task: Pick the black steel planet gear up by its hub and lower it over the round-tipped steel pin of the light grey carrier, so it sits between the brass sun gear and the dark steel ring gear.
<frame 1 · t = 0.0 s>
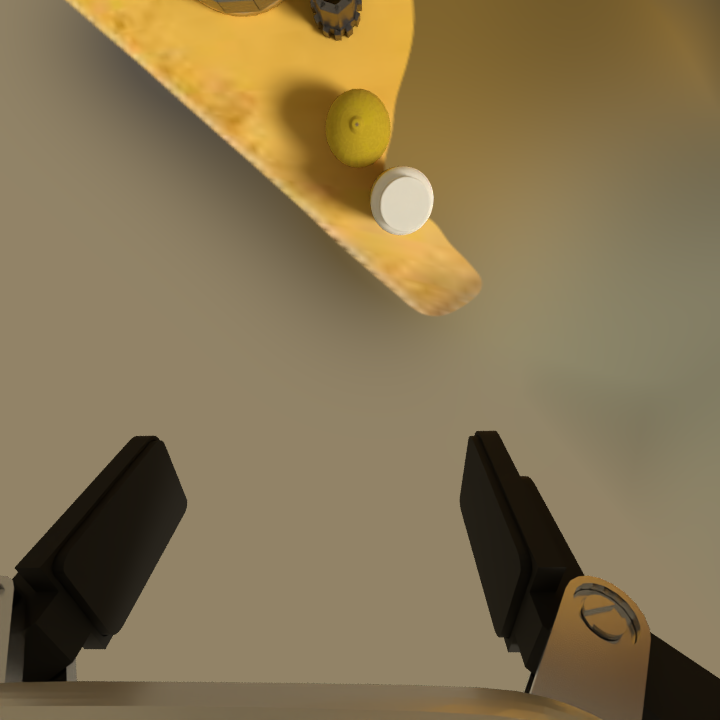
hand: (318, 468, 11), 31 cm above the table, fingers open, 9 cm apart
planet gear: (337, 8, 28), on the table
lemon: (359, 135, 33), on the table
supplement bottle: (395, 197, 35), on the table
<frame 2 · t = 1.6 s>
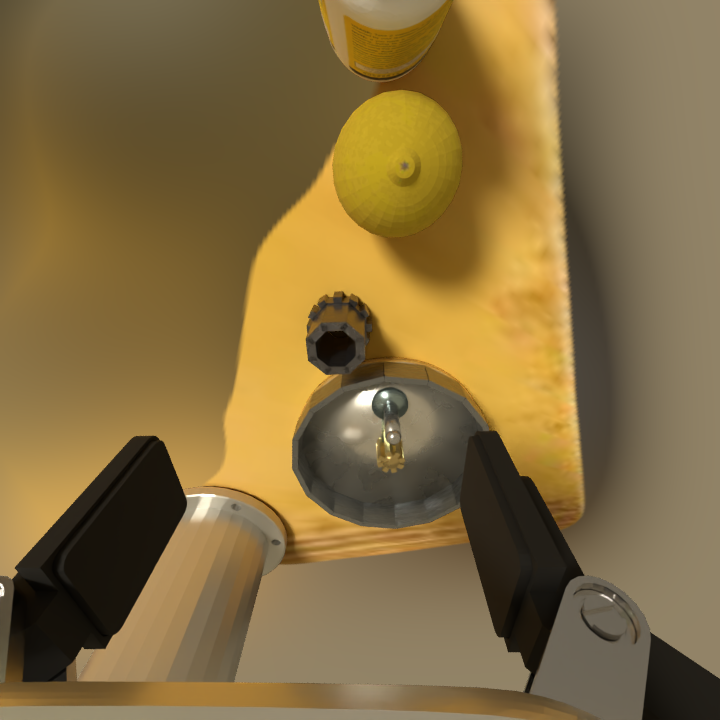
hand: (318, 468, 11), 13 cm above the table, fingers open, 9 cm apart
planet gear: (340, 321, 23), on the table
lemon: (389, 173, 19), on the table
supplement bottle: (381, 11, 16), on the table
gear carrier: (388, 436, 27), on the table
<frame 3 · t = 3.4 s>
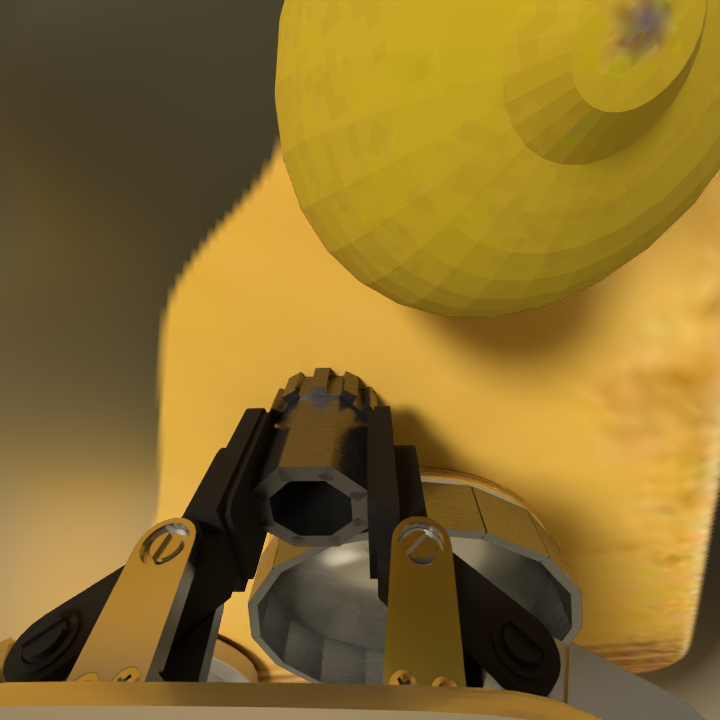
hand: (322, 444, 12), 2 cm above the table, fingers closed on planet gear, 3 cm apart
planet gear: (327, 415, 13), on the table, touching gripper
lemon: (422, 148, 9), on the table
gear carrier: (405, 568, 17), on the table
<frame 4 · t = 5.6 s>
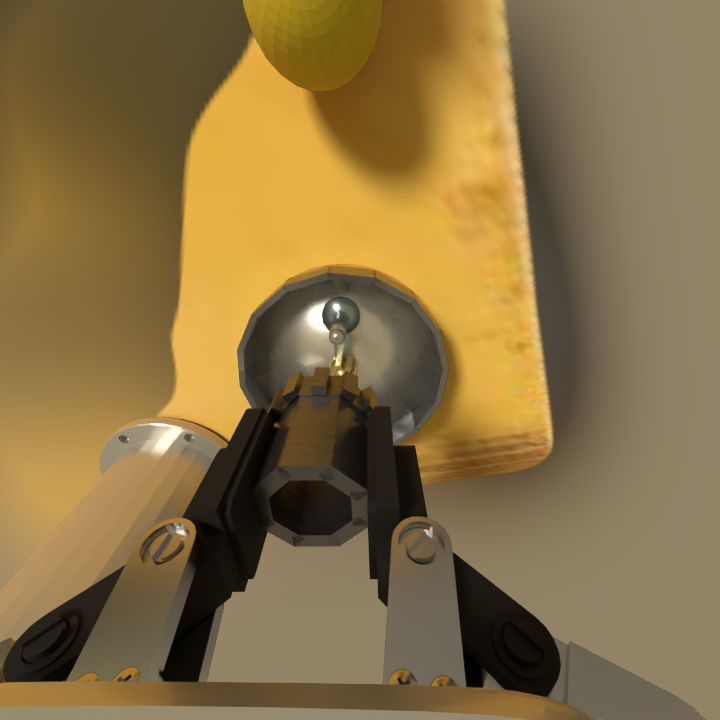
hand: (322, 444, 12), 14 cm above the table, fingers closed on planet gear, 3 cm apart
planet gear: (327, 414, 13), point 12 cm above the table, touching gripper
lemon: (325, 41, 18), on the table
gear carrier: (344, 359, 26), on the table
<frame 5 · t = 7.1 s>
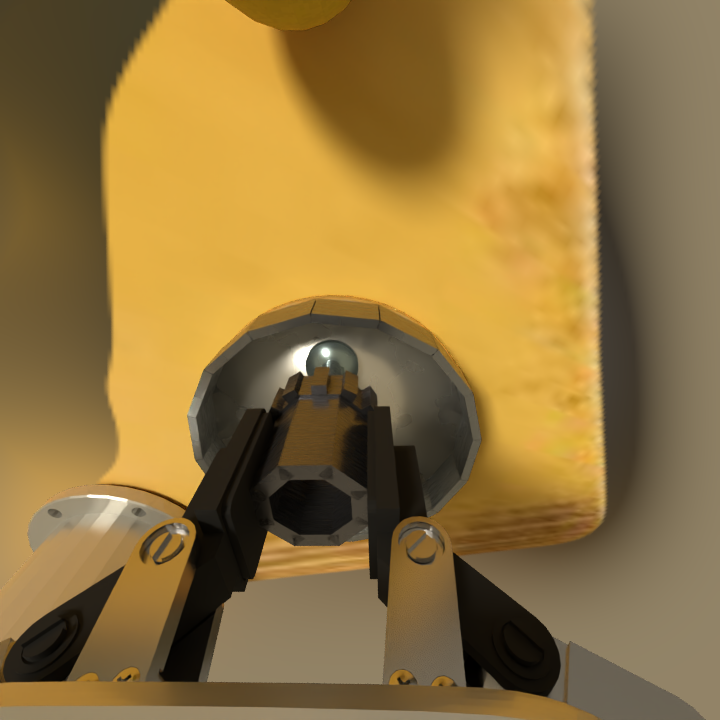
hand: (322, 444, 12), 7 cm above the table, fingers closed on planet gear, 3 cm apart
planet gear: (327, 414, 13), point 5 cm above the table, touching gripper
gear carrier: (338, 415, 20), on the table
when the fingers open (4 cm above the table, at t = 8.1 s): planet gear stays where it is, resting on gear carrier.
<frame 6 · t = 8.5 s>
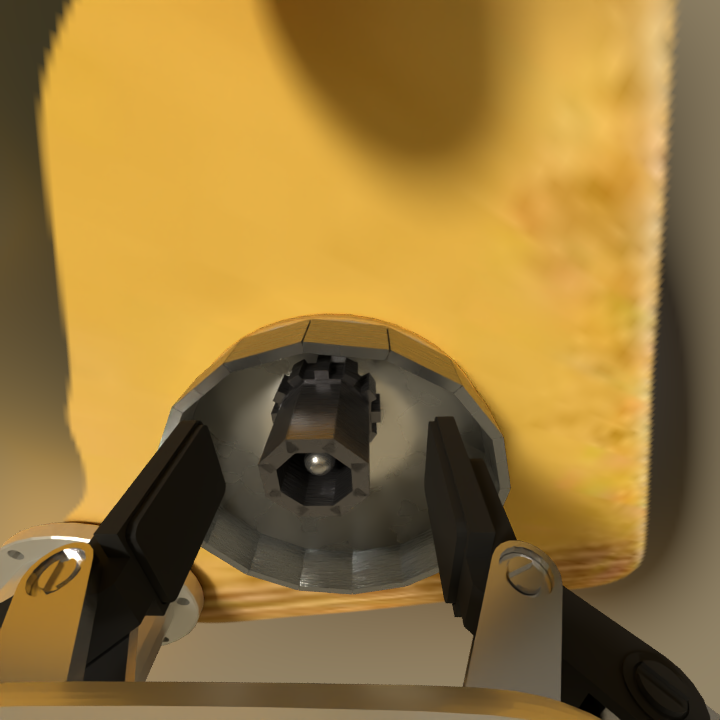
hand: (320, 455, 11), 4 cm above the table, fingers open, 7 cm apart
planet gear: (329, 399, 14), point 1 cm above the table, touching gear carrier
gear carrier: (338, 450, 17), on the table
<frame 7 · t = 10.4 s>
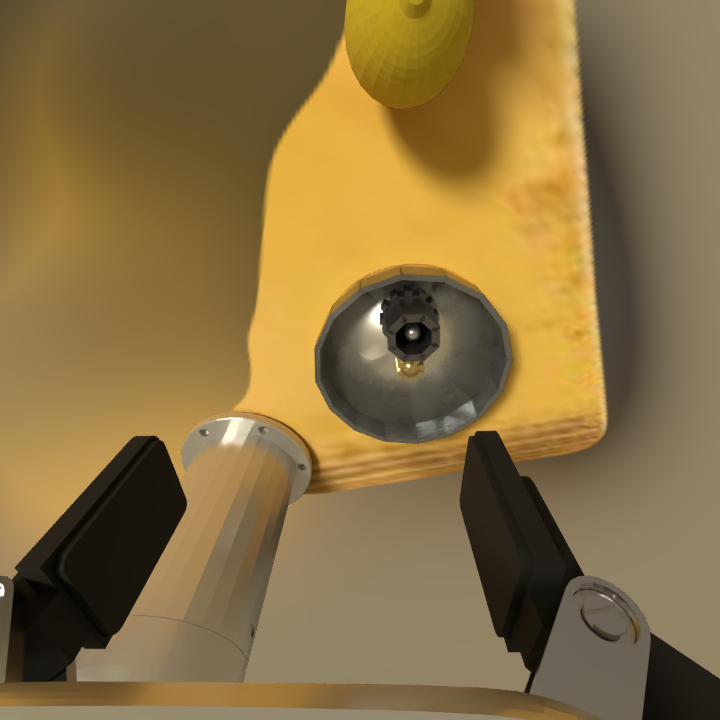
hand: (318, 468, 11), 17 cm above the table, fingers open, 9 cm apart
planet gear: (407, 313, 25), point 1 cm above the table, touching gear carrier
lemon: (400, 57, 19), on the table
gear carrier: (407, 352, 28), on the table
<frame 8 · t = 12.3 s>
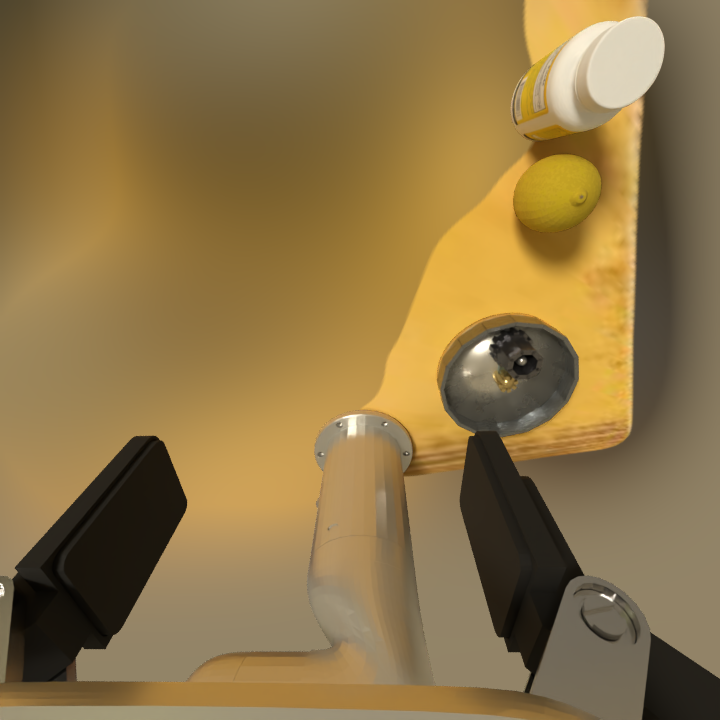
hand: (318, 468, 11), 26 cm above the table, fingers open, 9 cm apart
planet gear: (508, 345, 36), point 1 cm above the table, touching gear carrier
lemon: (530, 192, 30), on the table
supplement bottle: (542, 102, 27), on the table
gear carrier: (499, 371, 39), on the table
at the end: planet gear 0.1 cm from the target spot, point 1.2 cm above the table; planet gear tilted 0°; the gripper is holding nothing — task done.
